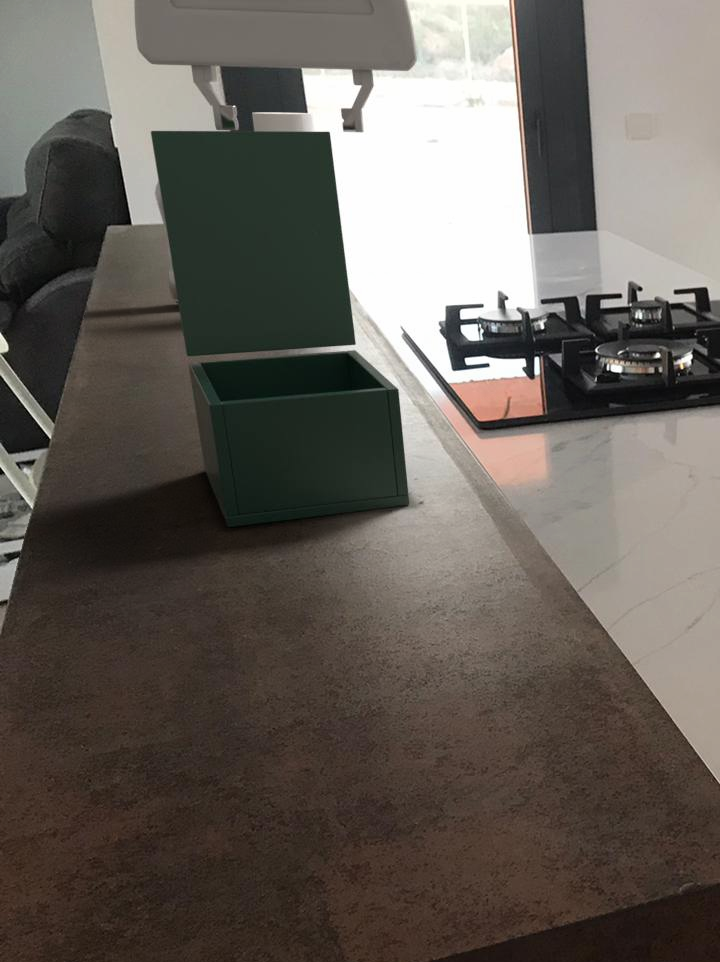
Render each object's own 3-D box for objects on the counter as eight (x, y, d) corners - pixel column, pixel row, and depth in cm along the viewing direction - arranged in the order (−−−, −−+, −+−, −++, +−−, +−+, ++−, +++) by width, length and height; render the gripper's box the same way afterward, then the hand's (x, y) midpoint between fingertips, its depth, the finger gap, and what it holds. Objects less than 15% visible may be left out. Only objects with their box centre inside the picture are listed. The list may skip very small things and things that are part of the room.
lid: (330, 131, 100) (328, 132, 100) (151, 130, 94) (150, 131, 95) (356, 345, 105) (354, 344, 105) (187, 356, 99) (186, 355, 99)
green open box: (409, 505, 96) (398, 388, 92) (228, 527, 90) (209, 404, 87) (366, 453, 108) (355, 350, 105) (205, 471, 103) (188, 361, 99)
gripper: (107, -76, 91) (139, 130, 96) (405, -62, 96) (421, 134, 101) (128, -67, 97) (158, 127, 102) (409, -54, 102) (424, 131, 107)
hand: (291, 131), depth 102 cm, fingers open, 8 cm apart
